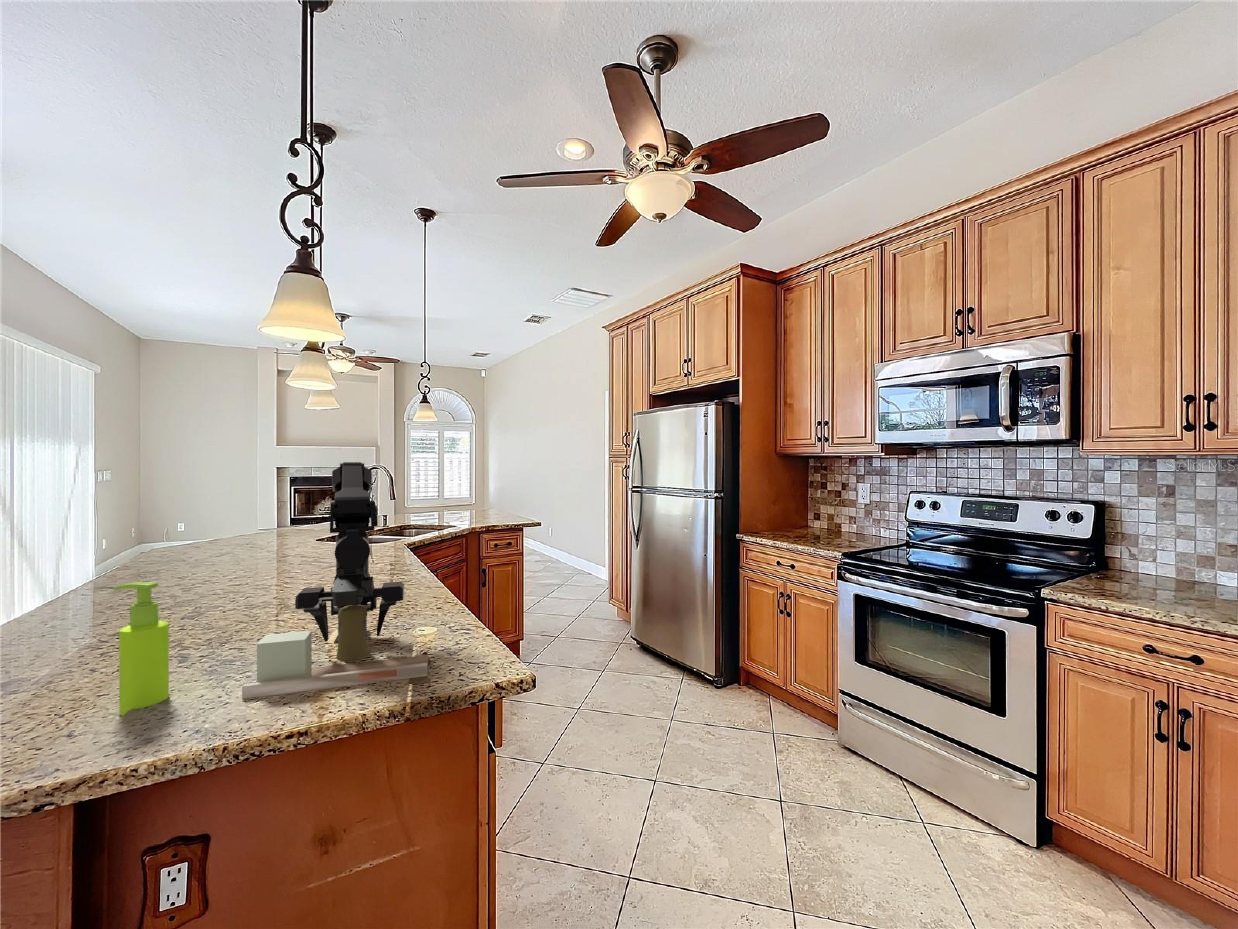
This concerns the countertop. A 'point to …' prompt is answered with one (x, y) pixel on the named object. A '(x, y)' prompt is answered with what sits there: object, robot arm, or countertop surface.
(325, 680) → the shelf board
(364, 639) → the cork
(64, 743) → the countertop surface
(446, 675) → the countertop surface
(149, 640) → the soap dispenser
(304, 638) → the sage tin
